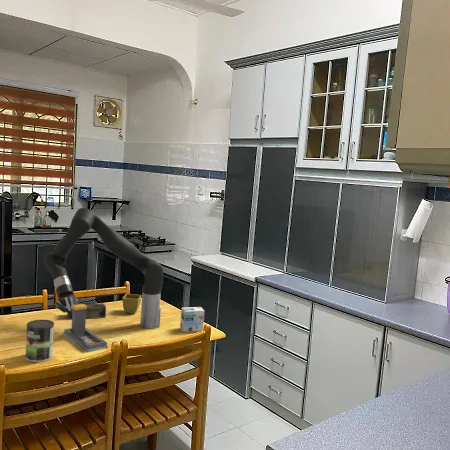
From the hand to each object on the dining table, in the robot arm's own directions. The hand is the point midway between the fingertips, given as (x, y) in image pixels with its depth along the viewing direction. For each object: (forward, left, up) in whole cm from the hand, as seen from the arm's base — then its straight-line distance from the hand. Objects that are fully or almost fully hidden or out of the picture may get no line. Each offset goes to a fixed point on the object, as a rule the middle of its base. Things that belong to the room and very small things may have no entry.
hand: (73, 318), depth 215 cm
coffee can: (+15, +27, -7) cm, 31 cm away
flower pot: (-32, -26, -7) cm, 42 cm away
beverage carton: (-9, -23, -7) cm, 25 cm away
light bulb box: (-57, +6, -7) cm, 58 cm away
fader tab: (-2, +6, -5) cm, 8 cm away
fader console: (-4, +12, -6) cm, 15 cm away
